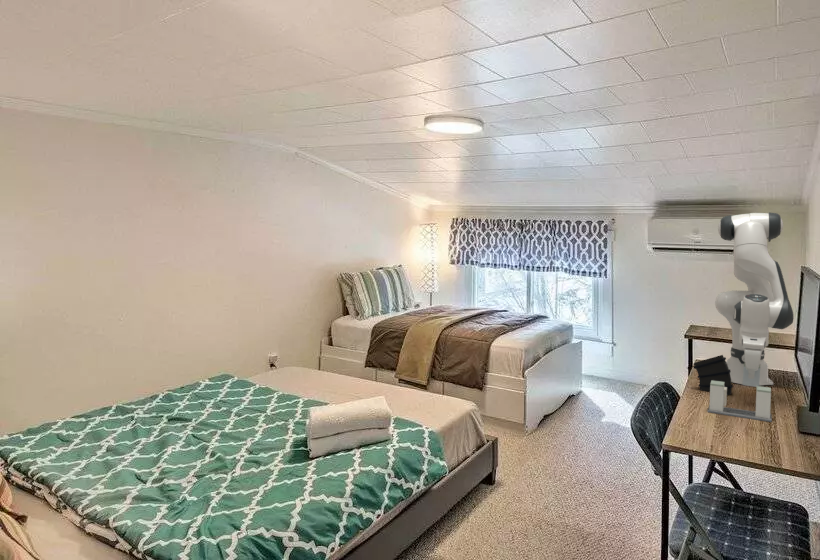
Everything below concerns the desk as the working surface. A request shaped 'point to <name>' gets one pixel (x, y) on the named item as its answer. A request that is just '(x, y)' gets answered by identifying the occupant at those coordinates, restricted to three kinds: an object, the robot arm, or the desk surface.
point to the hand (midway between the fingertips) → (751, 376)
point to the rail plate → (740, 413)
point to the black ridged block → (713, 373)
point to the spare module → (725, 395)
